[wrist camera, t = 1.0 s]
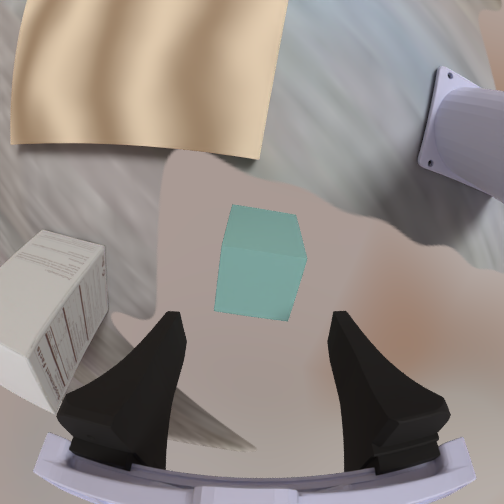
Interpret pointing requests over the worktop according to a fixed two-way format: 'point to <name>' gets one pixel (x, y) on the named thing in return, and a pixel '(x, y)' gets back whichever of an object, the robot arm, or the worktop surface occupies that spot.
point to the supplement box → (49, 314)
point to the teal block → (260, 264)
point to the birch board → (147, 73)
